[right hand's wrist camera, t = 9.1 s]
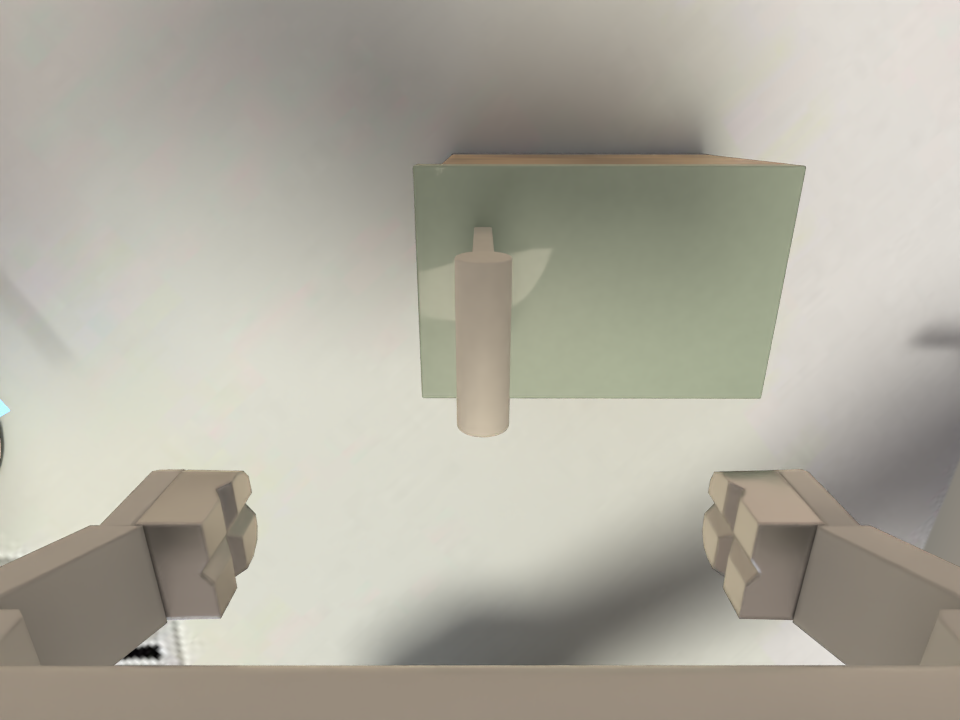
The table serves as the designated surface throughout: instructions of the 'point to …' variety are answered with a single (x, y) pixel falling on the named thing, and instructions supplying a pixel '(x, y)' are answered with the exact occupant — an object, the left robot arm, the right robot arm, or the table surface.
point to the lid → (598, 281)
